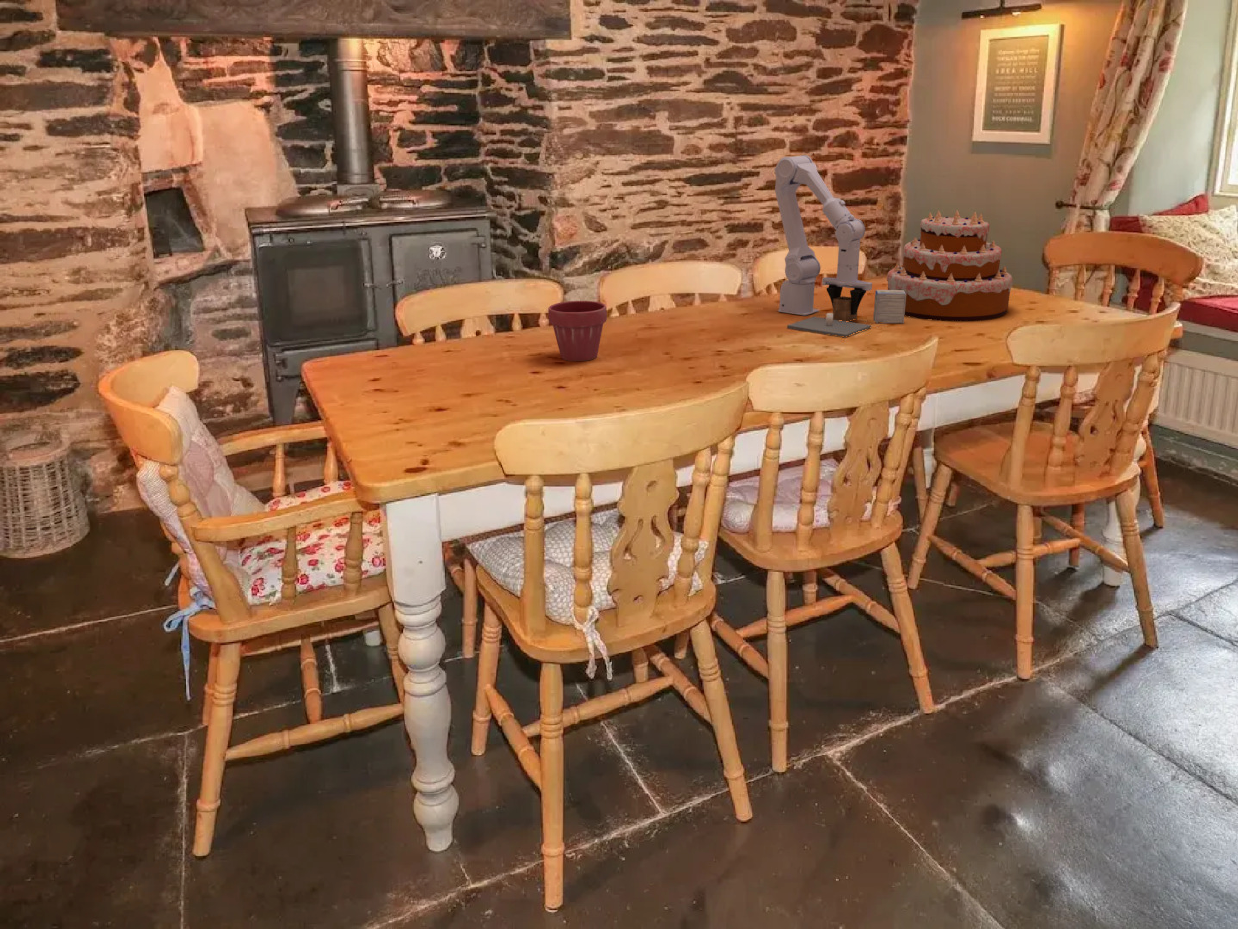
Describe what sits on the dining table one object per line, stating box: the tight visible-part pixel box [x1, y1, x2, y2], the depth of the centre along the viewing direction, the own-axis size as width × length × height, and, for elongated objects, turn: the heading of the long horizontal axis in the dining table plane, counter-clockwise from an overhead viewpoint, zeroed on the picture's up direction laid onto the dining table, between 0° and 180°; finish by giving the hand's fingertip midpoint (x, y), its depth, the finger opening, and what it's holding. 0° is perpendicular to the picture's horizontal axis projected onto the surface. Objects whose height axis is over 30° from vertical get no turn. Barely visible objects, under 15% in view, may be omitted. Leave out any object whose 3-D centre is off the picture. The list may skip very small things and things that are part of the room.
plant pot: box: [547, 300, 608, 362], centre depth 248 cm, size 14×14×13 cm
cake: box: [886, 209, 1014, 322], centre depth 292 cm, size 35×35×28 cm
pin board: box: [786, 312, 872, 338], centre depth 275 cm, size 18×14×4 cm
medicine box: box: [873, 289, 906, 324], centre depth 280 cm, size 8×4×9 cm, turn 84°
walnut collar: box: [832, 295, 858, 322], centre depth 284 cm, size 5×5×6 cm
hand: (844, 312), depth 284 cm, fingers closed on walnut collar, 5 cm apart
